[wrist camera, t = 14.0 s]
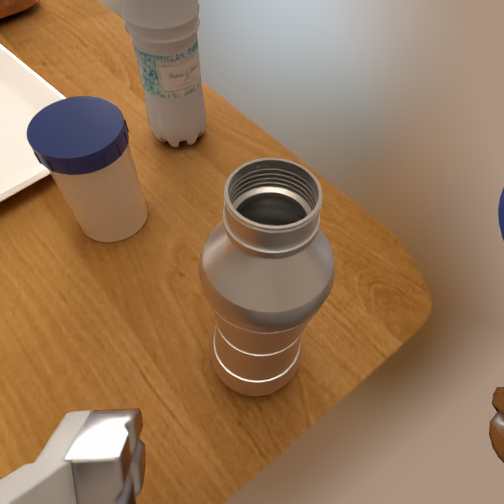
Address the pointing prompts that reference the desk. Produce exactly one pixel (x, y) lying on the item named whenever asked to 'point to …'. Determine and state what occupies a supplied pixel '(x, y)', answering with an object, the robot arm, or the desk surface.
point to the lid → (78, 135)
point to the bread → (14, 6)
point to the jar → (106, 200)
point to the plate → (20, 123)
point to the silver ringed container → (265, 273)
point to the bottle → (168, 65)
